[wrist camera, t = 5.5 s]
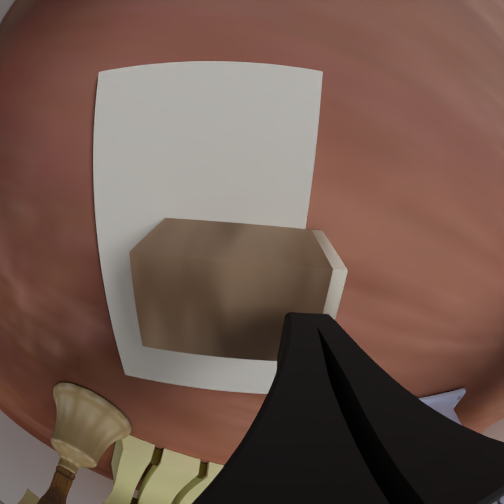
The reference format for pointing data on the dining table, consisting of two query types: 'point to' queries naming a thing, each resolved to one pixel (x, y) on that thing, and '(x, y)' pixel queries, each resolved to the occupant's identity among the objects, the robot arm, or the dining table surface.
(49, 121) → the dining table surface
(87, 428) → the hand bell
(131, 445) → the slatted curved stool
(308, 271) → the walnut block
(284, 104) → the felt mat
